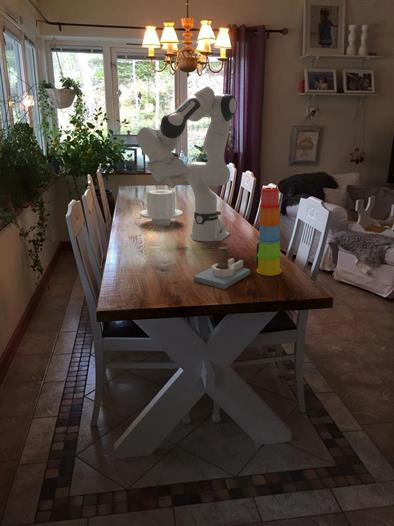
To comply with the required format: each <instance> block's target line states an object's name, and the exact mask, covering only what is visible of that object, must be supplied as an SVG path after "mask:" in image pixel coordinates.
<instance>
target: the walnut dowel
mask: <svg viewBox="0 0 394 526" xmlns="http://www.w3.org/2000/svg"><path fill="white" fill-rule="evenodd" d="M217 249H218V250H217V255H218V256H217V263H218V269H228V260H229V251H230V250H229V249H230V248H229V247H227V246H221V247H218V248H217Z"/></svg>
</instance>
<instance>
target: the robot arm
mask: <svg viewBox="0 0 394 526" xmlns="http://www.w3.org/2000/svg"><path fill="white" fill-rule="evenodd" d="M237 110H238V101H237V99H236V97H235V95H233V94H229V93H225V94H224V93H215V92H214V90H213V89H212V88H211V87H210V86H207V85H202V86H200V87H197V88H196V89H195V90H194V91H192V92H191V94H190V95H188V97H187V98H185V100H184V101H183V103H181V104H180V105H179V106H178V107H177V109H175V110H173V111H171V112H168V113H166V114H164V115H163V116H162V117H161V121H160V125H159V128H151V127H149V126H148V125H147V126H146V125H145V126H143V127H142V128H141V129H139V130H138V132H137V135H136V137H135V140H136V142H137V144H138V146H139V148H140V149H141V151H142V152H143V154H144V155H145V156H146V157H147V158H148V160H149V161H148V163H147V167H148V169H149V172H150V174H151V176H152V177H153V178H154V180H155V181H156V182H158V183H160V182H163V183H164V184H166V185H168V187H169V188H170V189H174V188H175V187H176V184H175V182H173V181H171V180H176V179H181V180H182V181H183V182H182V184H183V185H184V186H188V185H190V187H191V188H192V192H193V195H194V207H195V208H194V212H193V213H194V214H193V217H194V219H193V221H192V230H191V233H190V237H191V239H192V240H193V241H194V240H195V241H198V242H221V241H223V240H225V239H226V238H227V237H229V236H230V231H229V232H228V231H226V225H225V223H224V222H223V221H222V220H221V219H220V218H219V217H220V216H221V214H222V210H221V211H220V210H217V208H218V207H217V206H218V204H217V203H218V197H217V195H216V194H215V193H214V192H213V191H212V190H211V187H210V186H214V187H215V186H216V187H217V186H218V187H219V186H224V185H226V184H228V183H229V181H230V178H231V170H230V169H229V167H228V165H227V164H226V162H225V152H226V151H225V149H226V147H227V146H226V145H227V142H228V138H229V135H230V133H229V132H230V128H231V127H230V125H231V120H232V118H233V117H234V116H235V114H236V112H237ZM203 118H210V123H209V125H208V127H207V130H206V133H205V136H204V141H203V145H202V150H203V153H204V154H205V155H206V156H207V161H205V162H204V161H192V162H187V163H185V162H184V161H183V160H182V158H181V156H180V154H179V153H177V152H176V153H175V152H173V151H175V150H176V148H177V147H178V144H179V142H180V139H181V137H182V135H183V133H184V130H185V128H186V123H187V121H191V122H199V121H201V119H203Z"/></svg>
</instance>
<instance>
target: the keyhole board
mask: <svg viewBox="0 0 394 526" xmlns="http://www.w3.org/2000/svg"><path fill="white" fill-rule="evenodd" d="M210 266H211V267H210V268H208V269H206V270H203V271H202V272H199V273H197V274H196V275H193V281H194V282H197V283H200V284H204V285H208V286H211V287H215V288H219V289H222V290H225V289H227V288H229V287H230V286H232V285H234V284H235V283H238V282H239V281H240V280H242V279H245V277H247V276H249V275H251V269H249V268H246V267H244V260H243V259H240V260H238V261H236V262H235V258H233V257H232V258H228V269H218V262H217V263H214V264H212V265H210Z"/></svg>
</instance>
